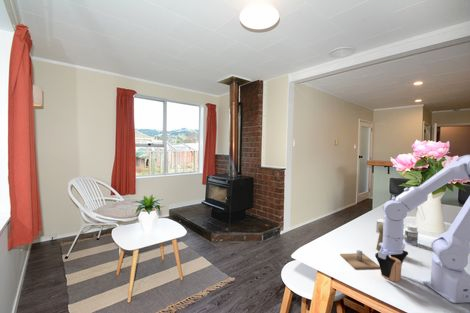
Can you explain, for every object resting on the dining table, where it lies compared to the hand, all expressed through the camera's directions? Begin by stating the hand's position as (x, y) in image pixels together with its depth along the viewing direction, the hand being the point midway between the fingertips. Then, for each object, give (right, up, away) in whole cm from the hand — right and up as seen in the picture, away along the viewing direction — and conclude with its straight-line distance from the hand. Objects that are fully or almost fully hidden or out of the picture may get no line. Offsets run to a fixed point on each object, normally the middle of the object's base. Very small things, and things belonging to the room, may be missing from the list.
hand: (390, 272), depth 76 cm
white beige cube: (+25, +1, +39) cm, 46 cm away
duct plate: (-6, -1, +10) cm, 11 cm away
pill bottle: (+28, 0, +26) cm, 38 cm away
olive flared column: (+11, -1, +19) cm, 22 cm away
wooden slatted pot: (0, -1, 0) cm, 1 cm away
